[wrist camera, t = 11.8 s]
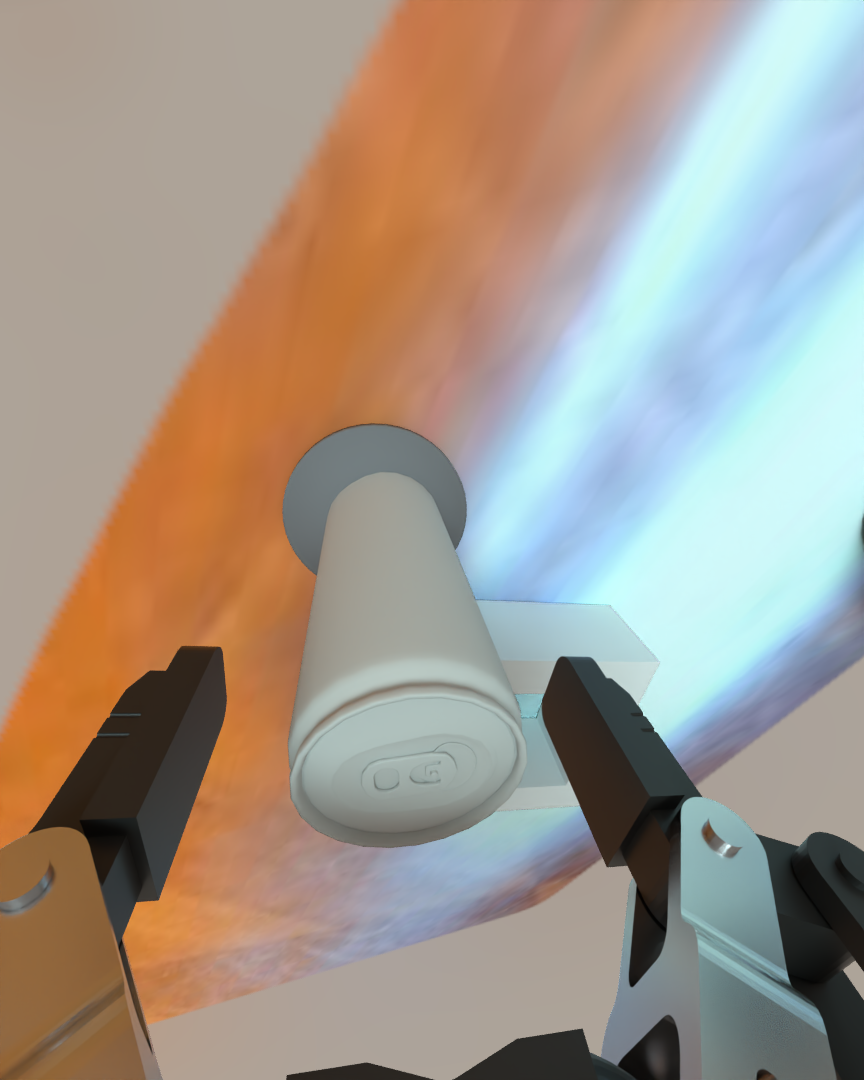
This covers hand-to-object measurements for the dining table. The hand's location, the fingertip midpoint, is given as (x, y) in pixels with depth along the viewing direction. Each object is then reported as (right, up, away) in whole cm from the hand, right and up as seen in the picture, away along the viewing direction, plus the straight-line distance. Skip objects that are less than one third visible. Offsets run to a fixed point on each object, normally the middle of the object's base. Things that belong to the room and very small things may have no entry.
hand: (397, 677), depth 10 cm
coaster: (-2, +5, +9) cm, 10 cm away
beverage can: (-1, +4, +9) cm, 10 cm away
